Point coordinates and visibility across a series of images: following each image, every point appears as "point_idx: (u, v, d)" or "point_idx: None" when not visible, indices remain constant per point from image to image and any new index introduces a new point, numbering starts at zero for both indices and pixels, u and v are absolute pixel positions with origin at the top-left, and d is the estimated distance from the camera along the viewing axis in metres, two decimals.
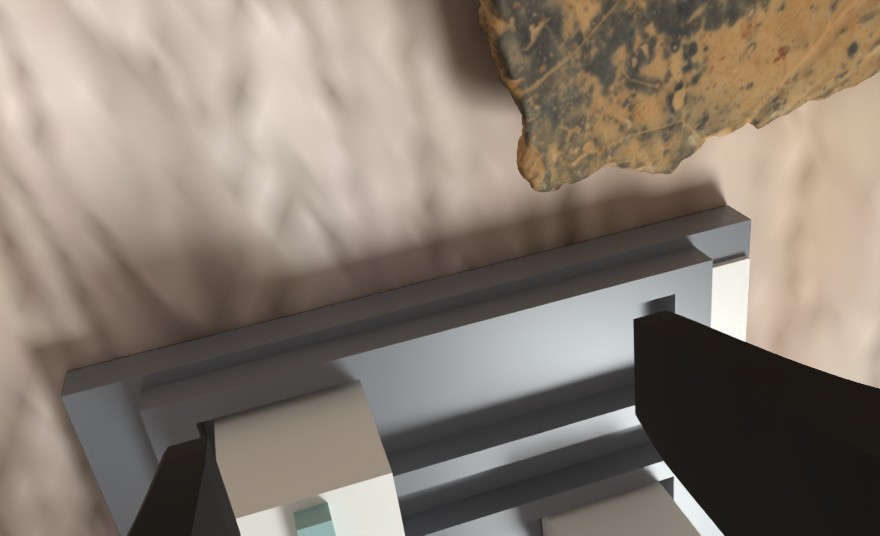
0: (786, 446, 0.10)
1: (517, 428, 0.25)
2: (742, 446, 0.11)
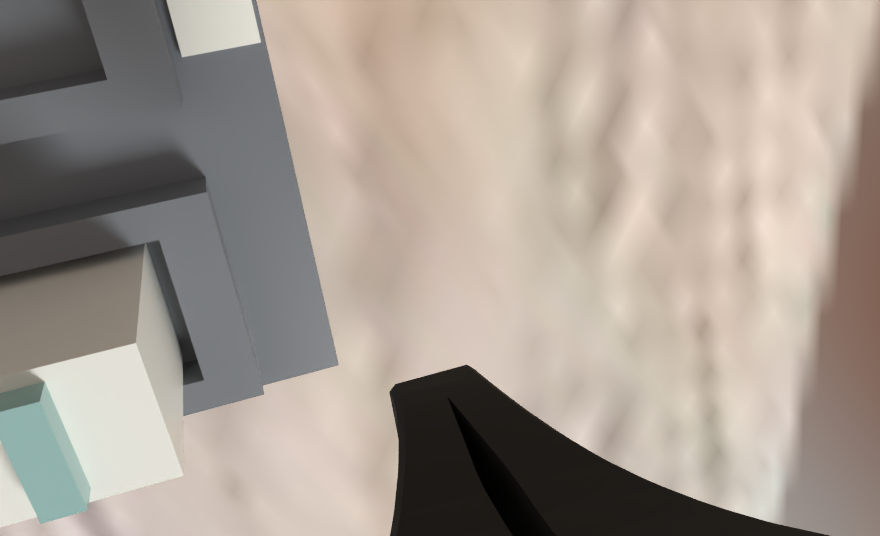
0: (527, 528, 0.10)
1: None
2: (505, 520, 0.11)
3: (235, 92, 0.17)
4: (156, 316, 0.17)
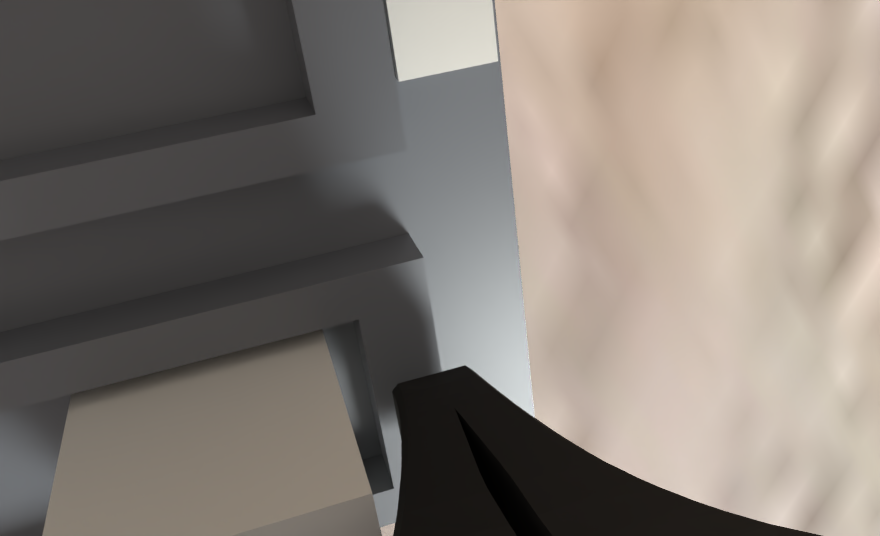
0: (525, 529, 0.10)
1: None
2: None
3: (456, 125, 0.13)
4: None
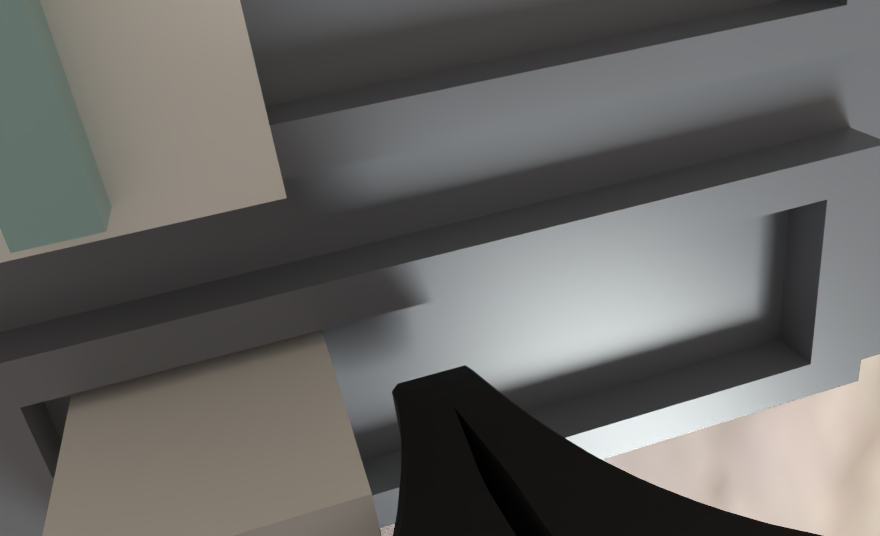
0: (525, 529, 0.10)
1: (542, 59, 0.13)
2: None
3: None
4: None
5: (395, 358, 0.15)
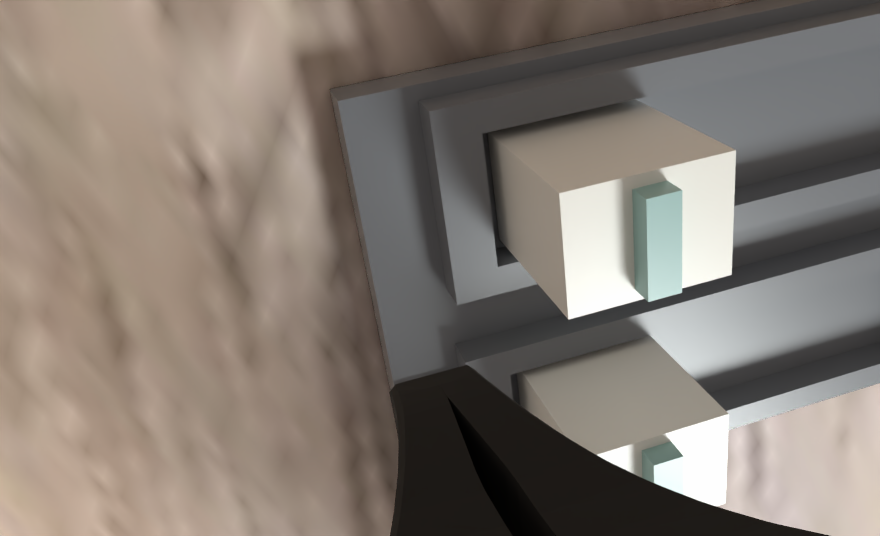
0: (527, 528, 0.10)
1: (785, 184, 0.23)
2: (506, 519, 0.11)
3: None
4: None
5: (679, 349, 0.25)
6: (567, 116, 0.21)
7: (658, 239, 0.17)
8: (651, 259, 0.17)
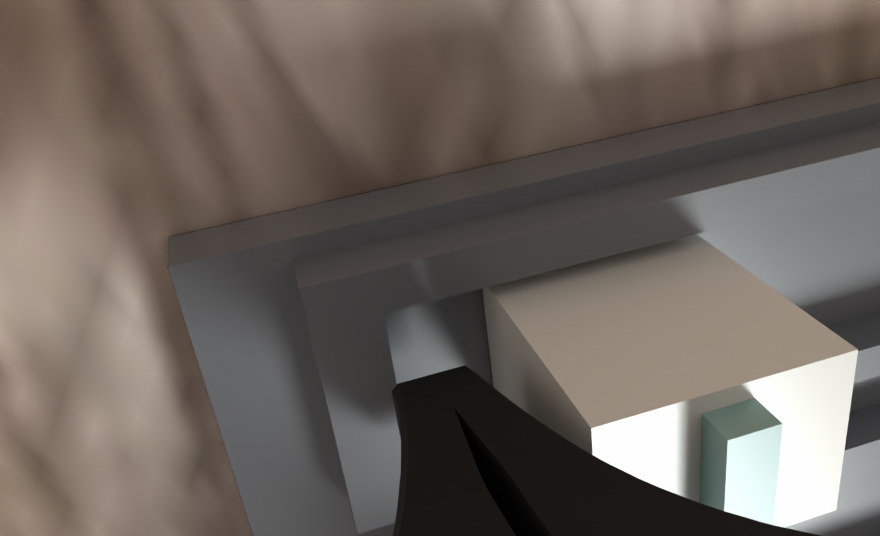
0: (525, 529, 0.10)
1: None
2: None
3: None
4: None
5: None
6: None
7: (741, 492, 0.11)
8: None
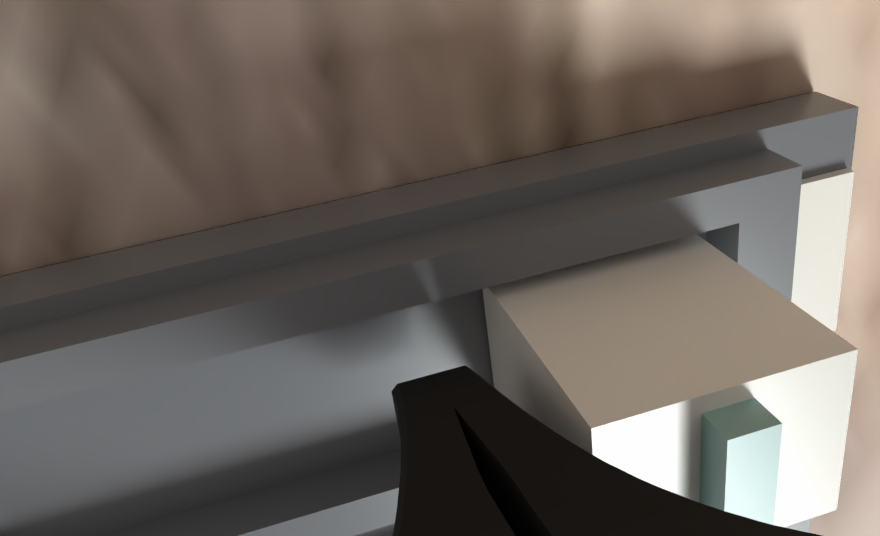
0: (525, 529, 0.10)
1: None
2: None
3: None
4: None
5: None
6: None
7: (741, 491, 0.11)
8: None
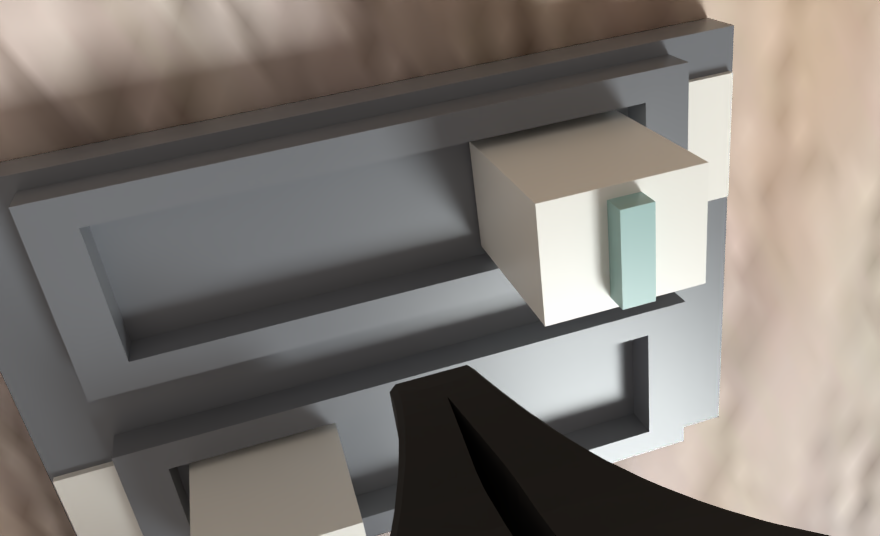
0: (527, 528, 0.10)
1: (466, 267, 0.22)
2: (505, 520, 0.11)
3: None
4: None
5: (383, 432, 0.24)
6: (547, 126, 0.21)
7: (632, 249, 0.17)
8: (625, 268, 0.18)
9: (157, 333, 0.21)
